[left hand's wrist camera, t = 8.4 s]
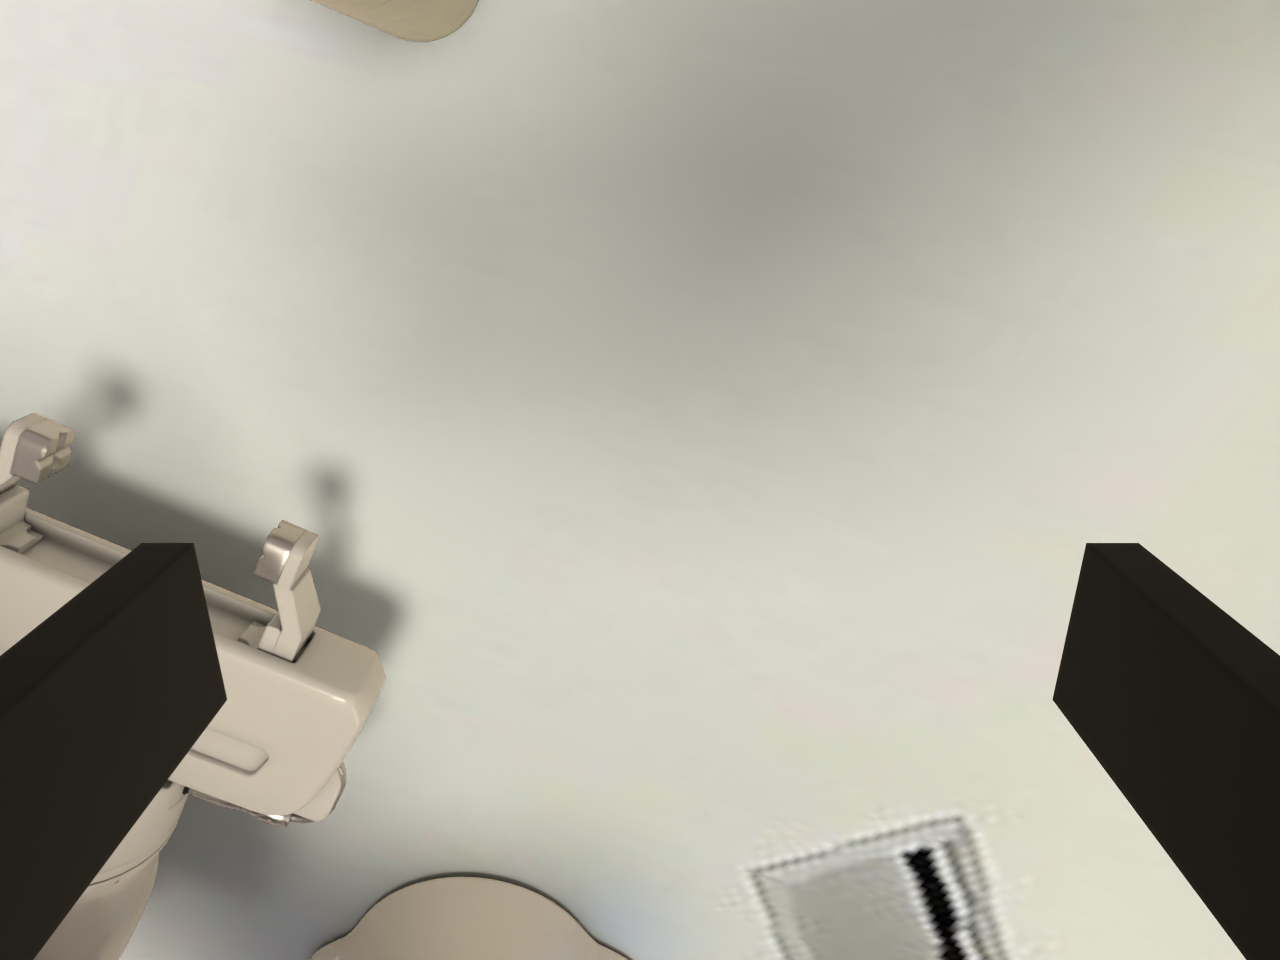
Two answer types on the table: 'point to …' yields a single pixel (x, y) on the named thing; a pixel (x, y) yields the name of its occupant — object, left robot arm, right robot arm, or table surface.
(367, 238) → the table surface
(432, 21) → the jar
